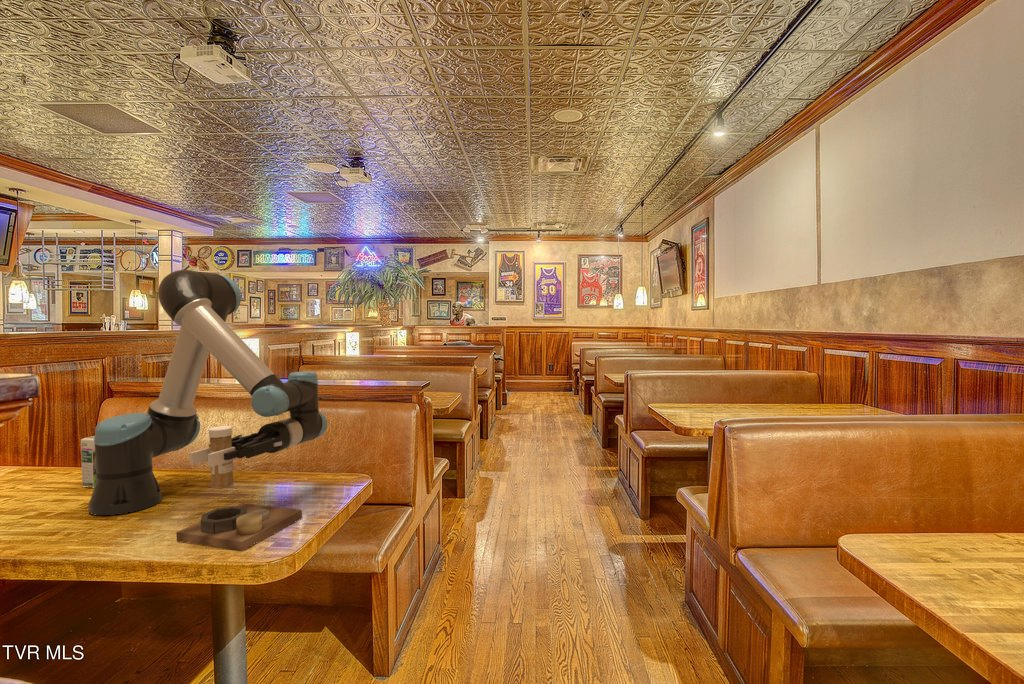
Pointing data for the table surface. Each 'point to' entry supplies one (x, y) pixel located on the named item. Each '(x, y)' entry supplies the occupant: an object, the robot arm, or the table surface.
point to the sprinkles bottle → (224, 471)
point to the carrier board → (238, 540)
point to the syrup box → (88, 462)
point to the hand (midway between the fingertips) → (200, 459)
